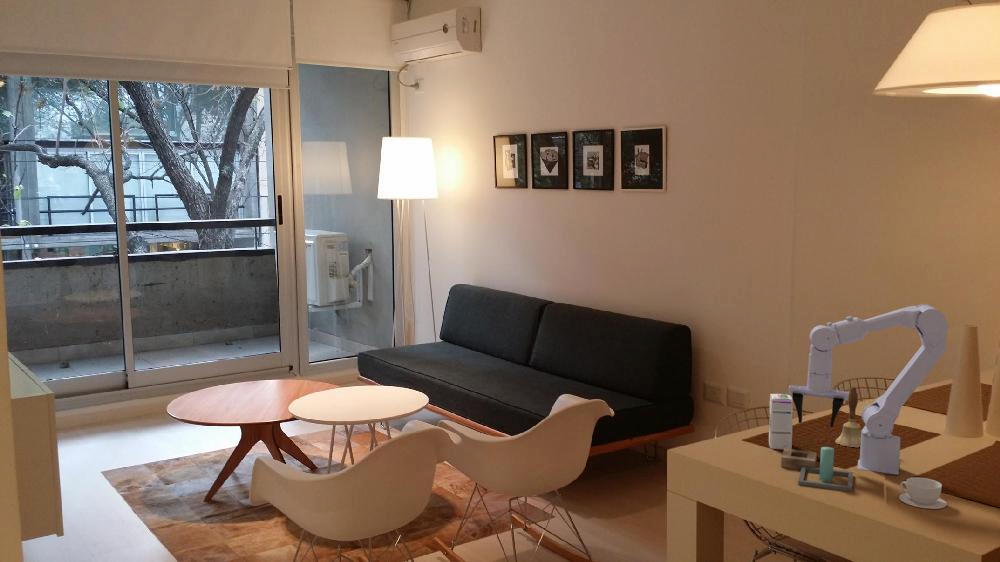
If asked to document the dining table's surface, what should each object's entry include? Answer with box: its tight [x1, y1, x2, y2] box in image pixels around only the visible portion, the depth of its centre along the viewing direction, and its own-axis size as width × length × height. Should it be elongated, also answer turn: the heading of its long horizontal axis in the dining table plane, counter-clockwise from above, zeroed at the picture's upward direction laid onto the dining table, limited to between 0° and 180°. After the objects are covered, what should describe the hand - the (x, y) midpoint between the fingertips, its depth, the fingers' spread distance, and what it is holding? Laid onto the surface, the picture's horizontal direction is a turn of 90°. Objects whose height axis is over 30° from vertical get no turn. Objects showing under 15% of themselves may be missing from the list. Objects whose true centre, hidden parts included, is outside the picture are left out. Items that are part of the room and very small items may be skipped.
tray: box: [797, 466, 854, 493], centre depth 216 cm, size 12×12×1 cm
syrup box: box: [768, 393, 794, 450], centre depth 242 cm, size 6×6×14 cm
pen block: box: [780, 448, 818, 470], centre depth 228 cm, size 8×8×3 cm
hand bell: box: [834, 386, 862, 449], centre depth 246 cm, size 8×8×16 cm
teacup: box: [898, 476, 948, 510], centre depth 203 cm, size 10×10×5 cm
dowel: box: [818, 446, 835, 483], centre depth 216 cm, size 3×3×8 cm
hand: (815, 424), depth 229 cm, fingers open, 7 cm apart
